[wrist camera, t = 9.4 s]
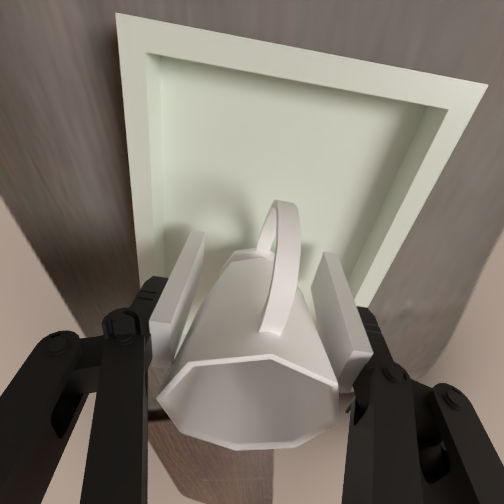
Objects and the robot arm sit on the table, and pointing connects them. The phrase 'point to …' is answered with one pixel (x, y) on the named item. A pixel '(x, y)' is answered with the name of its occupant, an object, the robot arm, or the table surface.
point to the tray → (278, 149)
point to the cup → (254, 352)
